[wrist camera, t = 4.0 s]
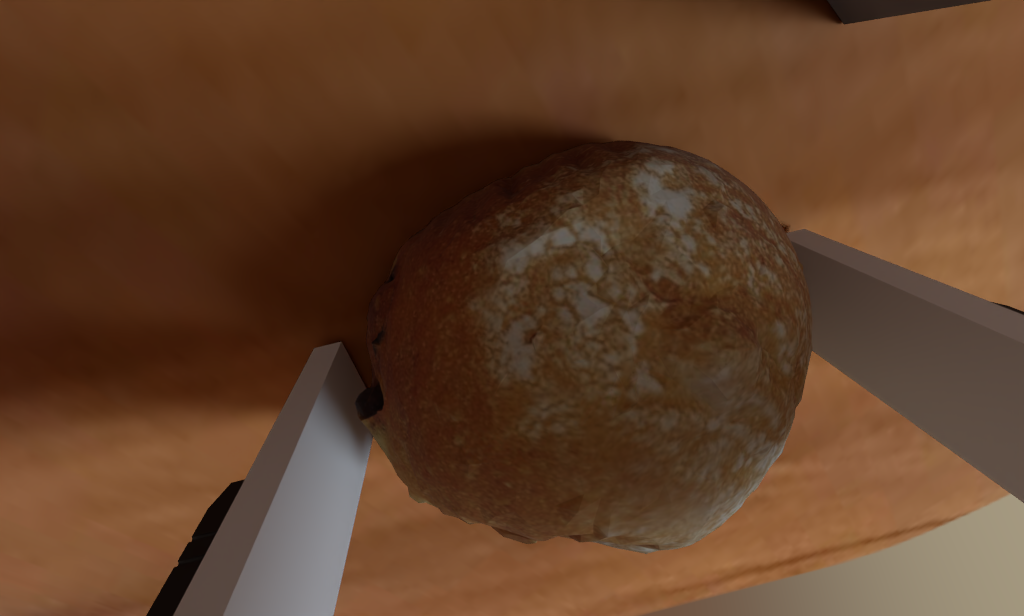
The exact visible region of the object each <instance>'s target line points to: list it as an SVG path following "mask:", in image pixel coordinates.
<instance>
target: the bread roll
mask: <svg viewBox="0 0 1024 616" xmlns="http://www.w3.org/2000/svg"><path fill="white" fill-rule="evenodd" d="M367 320H368V327H367V335H366V343H367V348H368V351H369V355H370V358H371V362H372V384H371V388H367V389H365V390H364V391H363V392H361V393H360V394H359V396H358V397H357V399H356V401H355V405H356V409H357V415H358V418H359V419H360V420H361V421H362V422H363V424H364V425H365V426H366V427H367V428H368V429H369V431H370V432H371V434H372V435H373V437H374V438H375V440H376V441H377V443H378V444H379V445H380V447H381V448H382V450H383V451H384V452H385V454H386V456H387V457H388V459H389V460H390V462H391V463H392V465H393V467H394V469H395V471H396V473H397V475H398V477H399V478H400V479H401V480H402V481H403V482H404V483H405V484H406V485H407V486H408V490H409V496H410V497H411V498H412V499H414V500H415V501H417V502H418V503H424V502H426V503H428V504H431V505H433V506H435V507H437V508H439V509H440V510H441V512H442V513H443V514H446V515H450V516H453V517H457V518H459V519H461V520H463V521H464V522H466V523H468V524H475V523H482V524H486V525H489V526H491V527H492V528H494V529H495V530H496V531H497V532H498V533H500V534H501V535H502V536H503V537H506V538H509V539H513V540H516V541H519V542H522V543H525V544H531V543H536V542H537V541H546V540H548V539H551V538H554V537H557V536H560V537H565V538H570V539H574V540H576V541H578V542H596V543H600V544H604V545H607V546H611V547H614V548H619V549H624V550H630V551H635V552H640V553H645V554H647V553H651V552H654V551H658V550H669V549H678V548H682V547H686V546H690V545H692V544H693V543H695V542H697V541H699V540H701V539H702V538H704V537H705V536H707V535H708V534H710V533H711V532H712V531H714V530H715V529H717V528H718V527H720V526H721V525H722V524H723V523H724V522H725V521H726V520H727V519H728V518H729V517H730V516H731V515H733V514H734V513H735V512H736V511H737V510H738V509H739V508H741V506H742V504H743V503H744V501H745V500H746V498H747V497H748V496H749V495H750V494H751V493H752V492H753V491H754V490H756V488H757V487H758V485H759V484H760V482H761V481H762V479H763V477H764V476H765V474H766V473H767V471H768V469H769V468H770V467H771V465H772V464H773V463H774V462H775V460H776V459H777V458H778V457H779V456H780V454H781V453H782V451H783V448H784V444H785V441H786V439H787V437H788V435H789V432H790V430H791V426H792V423H793V420H794V416H795V408H796V407H797V405H798V404H799V402H800V401H801V399H802V394H803V389H804V383H805V379H806V374H807V370H808V365H809V361H810V356H811V352H812V310H811V302H810V295H809V289H808V286H807V283H806V280H805V277H804V274H803V265H802V264H801V263H800V262H799V259H798V256H797V254H796V252H795V250H794V247H793V245H792V243H791V241H790V239H789V237H788V236H787V234H786V232H785V231H784V229H783V227H782V226H781V224H780V223H779V221H778V220H777V218H776V217H775V216H774V215H773V213H772V212H771V211H770V209H769V208H768V207H767V206H766V204H765V203H764V202H763V201H762V200H761V199H760V198H759V197H758V196H757V195H756V194H755V193H754V192H753V191H752V190H751V189H750V188H749V187H747V186H746V185H745V184H744V183H742V182H741V181H740V180H738V179H737V178H736V177H734V176H733V175H731V174H730V173H729V172H727V171H725V170H724V169H722V168H721V167H719V166H717V165H716V164H714V163H712V162H711V161H709V160H707V159H705V158H702V157H700V156H697V155H695V154H692V153H690V152H686V151H683V150H680V149H676V148H673V147H669V146H659V145H654V144H649V143H641V142H633V141H614V142H609V143H605V144H596V143H589V144H584V145H580V146H578V147H575V148H572V149H569V150H566V151H564V152H561V153H555V154H552V155H550V156H549V157H547V158H546V159H544V160H542V161H541V162H540V163H538V164H534V165H530V166H526V167H523V168H522V169H521V170H520V171H518V172H517V173H516V174H515V175H513V176H512V177H511V178H509V177H508V178H504V179H500V180H496V181H494V182H493V183H491V184H489V185H488V186H486V187H485V188H483V189H481V190H479V191H477V192H475V193H473V194H471V195H469V196H466V197H465V198H464V199H463V200H462V201H460V202H459V203H458V204H457V205H456V206H454V207H451V208H449V209H447V210H445V211H443V212H442V213H440V214H439V215H438V216H436V217H435V218H434V219H433V220H432V221H431V222H430V223H429V225H428V226H427V227H426V228H424V229H422V230H421V231H419V232H418V233H416V234H415V235H414V236H412V237H411V238H410V239H409V240H408V241H407V242H406V243H405V244H404V245H403V246H402V247H401V248H400V250H399V252H398V254H397V256H396V258H395V260H394V262H393V265H392V268H391V271H390V274H389V277H388V279H387V280H386V281H385V283H384V284H383V285H382V286H381V287H380V288H379V290H378V291H377V292H376V294H375V295H374V297H373V298H372V300H371V302H370V304H369V310H368V315H367Z"/></svg>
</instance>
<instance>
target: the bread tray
mask: <svg viewBox="0 0 1024 616" xmlns="http://www.w3.org/2000/svg"><path fill="white" fill-rule="evenodd" d="M827 1H828V2H829V4H830V5H831V7H832V8H833V9H834V11H835V12H836V14H837V15H838V16H839V18H840V19H841V21H842V22H843V24H849V23H855V22H862V21H868V20H874V19H880V18H886V17H892V16H898V15H904V14H910V13H916V12H922V11H929V10H935V9H941V8H947V7H953V6H959V5H965V4H971V3H977V2H983V1H989V0H827Z"/></svg>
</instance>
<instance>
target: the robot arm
mask: <svg viewBox="0 0 1024 616" xmlns="http://www.w3.org/2000/svg"><path fill="white" fill-rule="evenodd" d="M786 234H787V236H788V237H789V239H790V241H791V243H792V245H793V247H794V250H795V252H796V254H797V256H798V259H799V262H800V263H801V264H802V265H803V274H804V277H805V280H806V283H807V286H808V289H809V295H810V302H811V310H812V351H814V352H815V353H816V354H818V355H819V356H820V357H822V358H823V359H825V360H826V361H827V362H829V363H830V364H832V365H833V366H834V367H836V368H837V369H839V370H840V371H841V372H843V373H844V374H845V375H847V376H848V377H850V378H851V379H852V380H854V381H855V382H857V383H858V384H859V385H861V386H862V387H864V388H865V389H866V390H868V391H869V392H870V393H872V394H873V395H875V396H876V397H877V398H879V399H880V400H882V401H883V402H884V403H886V404H887V405H889V406H890V407H891V408H893V409H894V410H895V411H897V412H898V413H900V414H901V415H902V416H904V417H905V418H907V419H908V420H909V421H911V422H912V423H914V424H915V425H916V426H918V427H919V428H920V429H922V430H923V431H925V432H926V433H927V434H929V435H930V436H932V437H933V438H934V439H936V440H937V441H939V442H940V443H941V444H943V445H944V446H945V447H947V448H948V449H950V450H951V451H952V452H954V453H955V454H957V455H958V456H959V457H961V458H962V459H964V460H965V461H966V462H968V463H969V464H971V465H972V466H973V467H975V468H976V469H977V470H979V471H980V472H982V473H983V474H984V475H986V476H987V477H989V478H990V479H991V480H993V481H994V482H996V483H997V484H998V485H1000V486H1001V487H1002V488H1004V489H1005V490H1007V491H1008V492H1009V493H1011V494H1012V495H1014V496H1015V497H1016V498H1018V499H1019V500H1021V501H1022V502H1023V503H1024V312H1023V311H1020V310H1017V309H1015V308H1012V307H1010V306H1006V305H1002V304H998V303H994V302H989V301H987V300H984V299H982V298H979V297H977V296H974V295H971V294H969V293H966V292H964V291H961V290H959V289H956V288H954V287H951V286H949V285H946V284H943V283H941V282H938V281H936V280H933V279H931V278H928V277H926V276H923V275H920V274H918V273H915V272H913V271H910V270H908V269H905V268H903V267H900V266H898V265H895V264H892V263H890V262H887V261H885V260H882V259H880V258H877V257H875V256H872V255H869V254H867V253H864V252H862V251H859V250H857V249H854V248H852V247H849V246H846V245H844V244H841V243H839V242H836V241H834V240H831V239H829V238H826V237H824V236H821V235H818V234H816V233H813V232H811V231H808V230H806V229H801V230H797V231H793V232H789V233H786ZM365 389H366V387H365V385H364V383H363V381H362V379H361V377H360V375H359V374H358V372H357V370H356V368H355V366H354V364H353V362H352V360H351V358H350V357H349V355H348V353H347V351H346V349H345V347H344V345H343V343H342V341H341V342H337V343H333V344H329V345H325V346H321V347H317V348H314V349H313V351H312V353H311V355H310V357H309V359H308V361H307V363H306V365H305V366H304V368H303V370H302V372H301V374H300V376H299V378H298V380H297V382H296V384H295V385H294V387H293V389H292V391H291V393H290V395H289V397H288V399H287V401H286V402H285V404H284V406H283V408H282V410H281V412H280V414H279V416H278V418H277V420H276V421H275V423H274V425H273V427H272V429H271V431H270V433H269V435H268V437H267V439H266V440H265V442H264V444H263V446H262V448H261V450H260V452H259V454H258V456H257V457H256V459H255V461H254V463H253V465H252V467H251V469H250V471H249V473H248V475H247V476H246V478H245V480H241V481H237V482H233V483H231V484H230V485H229V486H228V487H227V488H226V489H225V491H224V492H223V493H222V494H221V495H220V496H219V497H218V498H217V499H216V500H215V502H214V503H213V504H212V505H211V506H210V507H209V508H208V510H207V511H206V513H205V515H204V517H203V518H202V520H201V522H200V524H199V525H198V527H197V529H196V530H195V532H194V534H193V536H192V542H189V543H188V544H187V546H186V548H185V549H184V551H183V553H182V555H181V556H180V558H179V560H178V563H179V564H178V566H177V567H174V568H173V570H172V572H171V574H170V575H169V577H168V579H167V581H166V582H165V584H164V586H163V587H162V589H161V591H160V593H159V594H158V596H157V598H156V600H155V601H154V603H153V605H152V607H151V608H150V610H149V612H148V613H147V615H146V616H333V615H334V610H335V606H336V601H337V597H338V592H339V588H340V583H341V579H342V574H343V570H344V565H345V561H346V556H347V552H348V547H349V543H350V538H351V534H352V529H353V525H354V520H355V516H356V511H357V507H358V502H359V498H360V493H361V489H362V484H363V480H364V475H365V471H366V466H367V462H368V457H369V453H370V448H371V444H372V439H373V435H372V434H371V432H370V431H369V429H368V428H367V427H366V426H365V425H364V424H363V422H362V421H361V420H360V419H359V418H358V415H357V409H356V405H355V401H356V399H357V397H358V396H359V394H360V393H361V392H363V391H364V390H365Z"/></svg>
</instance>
